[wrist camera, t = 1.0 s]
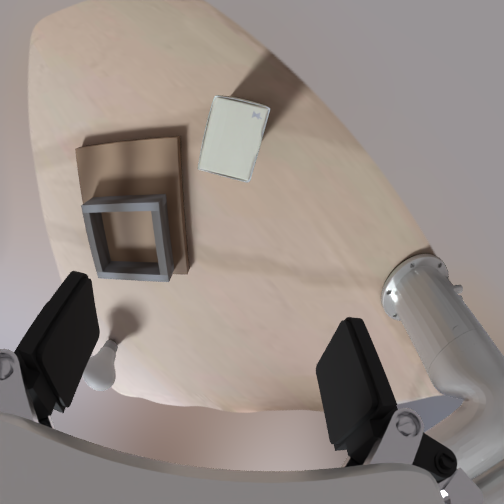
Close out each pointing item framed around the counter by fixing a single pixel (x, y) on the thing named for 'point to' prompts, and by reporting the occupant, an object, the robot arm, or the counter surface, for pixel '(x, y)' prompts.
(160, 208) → the holder board
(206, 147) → the skincare box
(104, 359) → the lightbulb
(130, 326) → the counter surface
